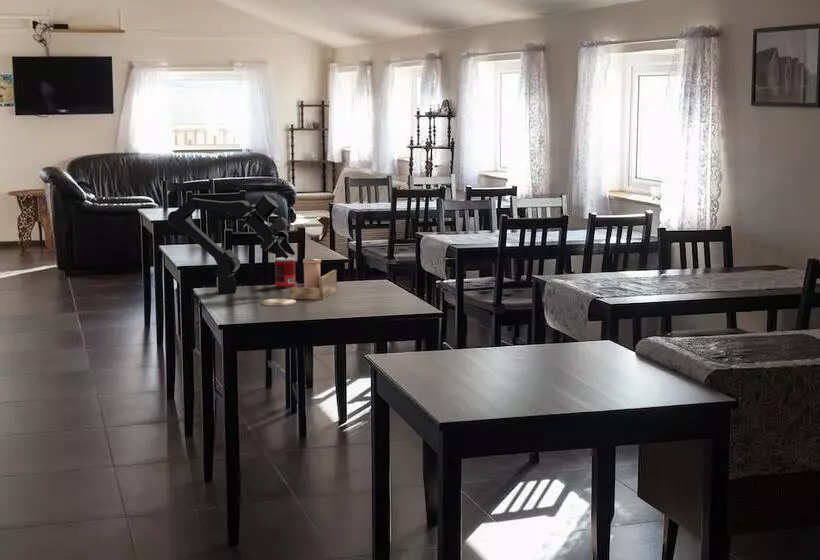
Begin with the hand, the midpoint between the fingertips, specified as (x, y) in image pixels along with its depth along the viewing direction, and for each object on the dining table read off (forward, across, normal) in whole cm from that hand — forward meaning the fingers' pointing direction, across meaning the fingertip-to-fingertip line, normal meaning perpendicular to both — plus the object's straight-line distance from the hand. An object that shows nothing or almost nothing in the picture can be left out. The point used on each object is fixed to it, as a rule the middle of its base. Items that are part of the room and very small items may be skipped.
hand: (291, 256), depth 409 cm
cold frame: (+16, -1, +5) cm, 16 cm away
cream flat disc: (+10, -21, +10) cm, 25 cm away
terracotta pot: (+16, -1, +5) cm, 16 cm away
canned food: (+5, +17, +15) cm, 23 cm away
